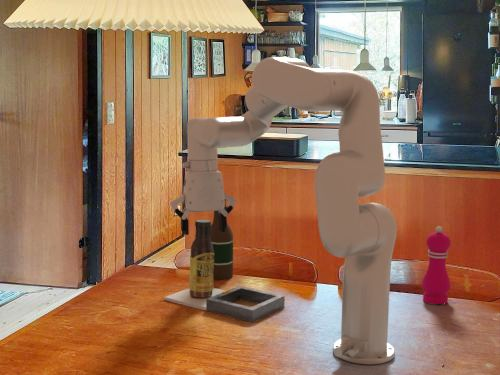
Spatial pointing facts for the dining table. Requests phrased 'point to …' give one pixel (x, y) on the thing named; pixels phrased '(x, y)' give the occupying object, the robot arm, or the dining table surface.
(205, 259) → the sauce bottle
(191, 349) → the dining table surface
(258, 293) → the collar
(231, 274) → the beer bottle
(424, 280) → the pepper mill
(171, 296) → the plate
